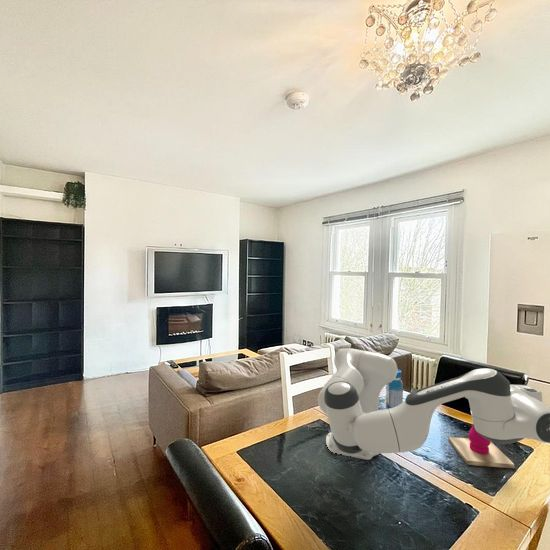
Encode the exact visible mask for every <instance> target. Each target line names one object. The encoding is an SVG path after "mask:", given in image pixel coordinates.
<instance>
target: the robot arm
mask: <svg viewBox="0 0 550 550" xmlns="http://www.w3.org/2000/svg"><path fill="white" fill-rule="evenodd" d="M333 359H334V363H333V364H334V366H335V368H336V372H335V373H334V374H333V375H332V376H331V377H330V378H329V379H328V380H327V381H326V382H325V384H324V385H323V387H322V389H321V390H320V392H319V394H318V396H317V405H318V407H319V409H320V410H321V411H322V412H323V413H324V415H326V417H327V421H328V423H329V424H328V425H329V427H330V430H331V432H329V433H328V434H326V437H325V446H326V445H327V446H326V448H327V447H328V449H329V450H330V451H331V452H333V453H332V454H335V453H337V455H340V454H342V455H341V456H347V457H350V456H351V457H352V458H356V459H361V460H367V461H368V460H371V459H373V457H376V456H378V455H379V454H396V453H407V452H408V453H409V452H413V451H417V450H418V449H420V448H422V447H423V445H424V444H425V442H426V441H427V438H428V436H429V433H430V428H431V427H430V426H431V422H432V417H433V415H434V413H435V411H436V409H437V408H438V407H439V406H440V405H442V404H445V403H449V402H452V401H455V400H459V399H461V398H465V399H467V400H468V403H469V408H471V410H470V414H471V419H472V425H473V424H474V428H475V430H476V432H477V433H478V434H480V435H481V436H482V437H484V438H486V439H488V440H490V441H491V442H492V443H493V444H494V443H495V444H498V445H510V444H514V443H518V442H519V441H522V440H525V439H528V440H529V439H530V440H533V441H537V442H541V443H544V444H545V443H546V444H550V406H549V405H547V404H545V403H544V402H543V394H542V391H541V390H538V389H535V388H533V387H531V386H528V385H525V384H511V382H510V380H509V379H507V378H506V377H505V376H504V375H503V374H502V373H501V372H499V371H497V370H495V369H493V368H486V367H485V368H484V367H483V368H482V367H481V368H476V369H473V370H472V369H471V371H468V372H466V373H463V374H462V375H460V376H459V375H458V376H457V377H454V378H450V379H448V380H444V381H441V382H439V383H434V384H432V385H429V386H426V387H423V388H420V389H417V390H415V391H412V392H410V393H408V394H407V395H406V396H405V400H404V401H403V403H401V404H400V405H398V406H396V407H394V408H390V409H387V408H384V409H379V401H380V395H381V392H382V390H383V388H385V387H386V385H387V384H388V383H390V382H392V381H393V380H394V379H395V377H396V375H397V369H398V365H397V362H396V361H395V359H394V358H393V357H391V356H388V355H386V354H383V353H379V352H374V351H367V350H363V349H362V350H361V349H356V348H352V347H350V348H349V347H347V348H340V349H338V350H337V351H336V353H335V355H334V358H333ZM328 449H327V450H328ZM329 450H328V451H329ZM330 451H329V452H330ZM331 452H330V453H331Z"/></svg>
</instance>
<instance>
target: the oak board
mask: <svg viewBox="0 0 550 550" xmlns="http://www.w3.org/2000/svg"><path fill="white" fill-rule="evenodd" d="M447 440H448V442H449V444H450V445H451V446H452V447H453V449H454V450H455V452H456V453H457V454H458V455H459V457H461V459H462V460H463V462H464V463H465V464H466V465H469V466H477V467H478V466H481V467H493V468H504V469H505V468H506V469H515V463H513V461H512V460H511V459H510V458H509V457H508V456H506V454H505V453H503V452H502V451H501V450H500V448H498V447H497V445H495V444H494V442H492V441H490V442H491V443H490V445H489V446H488V447H489V453H488V454H479V453H476V452H474V451H472V450H471V449H470V442H471V441H470V440H469V438H468V437H466V438H465V437H454V436H453V437H452V436H451V437H450V436H448V437H447Z"/></svg>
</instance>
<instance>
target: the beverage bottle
mask: <svg viewBox="0 0 550 550" xmlns="http://www.w3.org/2000/svg"><path fill="white" fill-rule="evenodd" d="M401 378H402V370H400V369H398V368H397V375H396V377H395V379H394V380H393V381H392V382H390V383H388V384H387V385H385V392H386V393H385V409H390V408H394V407H396V406H398V405H400V404H401V403H403V402H404V401H403V397H404V396H403V395H404V388H403V386H404V383H403V380H402V379H401Z"/></svg>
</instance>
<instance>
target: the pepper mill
mask: <svg viewBox="0 0 550 550" xmlns="http://www.w3.org/2000/svg"><path fill="white" fill-rule="evenodd" d="M469 408H470V407H469ZM470 411H471V408H470ZM467 438H469V440H470V441H471V442H470V449H471V450H472V451H474V452H476V453H479V454H488V453H489V447H488V446H489V445H490V443H491V442H492V441H491V442H490V440H488V439H486V438H484V437H482V436H481V435H480V434H478V433H477V432H476V430H475V428H474V424H473V423H472V426H471V427H470V429H469V432H468V437H467Z"/></svg>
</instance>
